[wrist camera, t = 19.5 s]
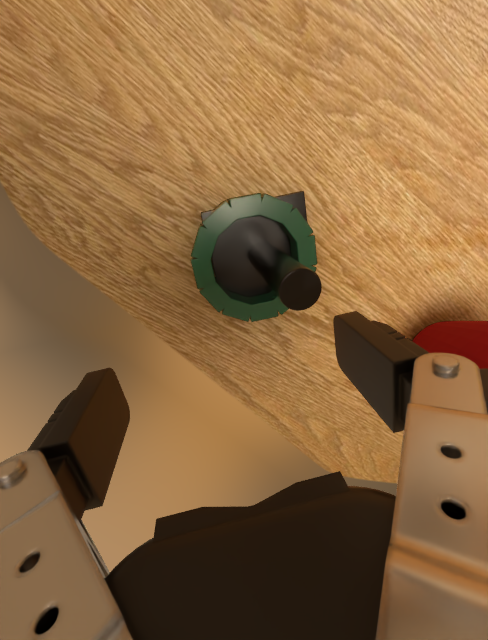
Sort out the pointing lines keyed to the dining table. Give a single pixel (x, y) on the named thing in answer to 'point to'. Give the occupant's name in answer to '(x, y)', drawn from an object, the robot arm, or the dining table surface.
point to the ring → (219, 222)
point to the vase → (457, 340)
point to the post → (264, 260)
